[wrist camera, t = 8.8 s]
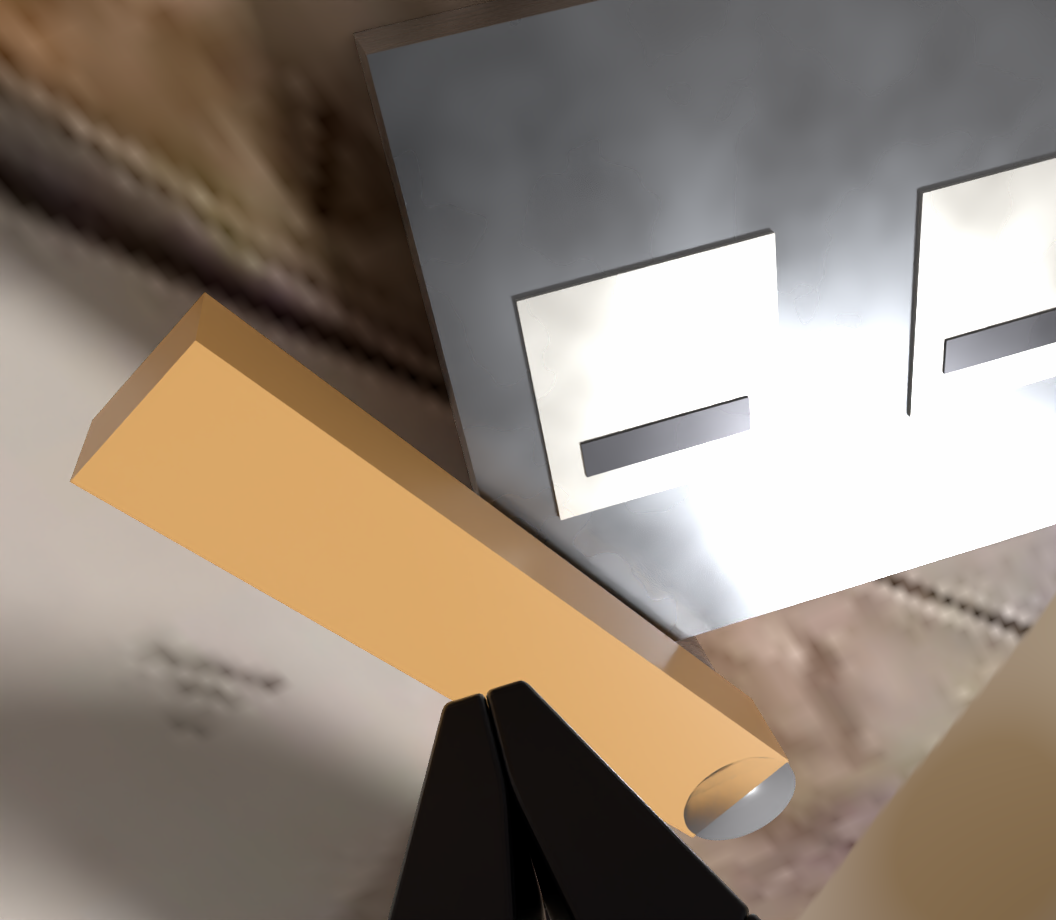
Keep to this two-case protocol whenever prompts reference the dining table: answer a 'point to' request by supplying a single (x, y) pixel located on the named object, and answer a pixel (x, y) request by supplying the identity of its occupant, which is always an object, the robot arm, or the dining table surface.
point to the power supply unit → (737, 281)
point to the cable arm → (416, 566)
